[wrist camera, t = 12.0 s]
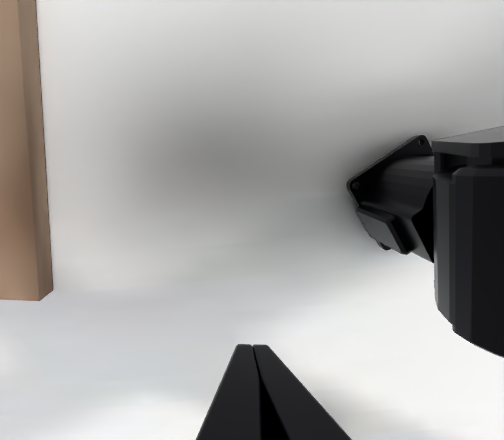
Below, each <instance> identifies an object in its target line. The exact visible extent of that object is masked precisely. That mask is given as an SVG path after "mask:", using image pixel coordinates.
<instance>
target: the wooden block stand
mask: <svg viewBox="0 0 504 440" xmlns="http://www.w3.org/2000/svg"><path fill="white" fill-rule="evenodd" d="M51 291H53V282H52V265H51V249H50V232H49V216H48V199H47V182H46V166H45V149H44V133H43V116H42V99H41V83H40V66H39V50H38V33H37V16H36V0H0V299H3V300H27V301H40V300H41V299H43V298H44V297H45V296H46V295H48V294H49V293H50V292H51Z"/></svg>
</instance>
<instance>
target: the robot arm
mask: <svg viewBox="0 0 504 440" xmlns="http://www.w3.org/2000/svg"><path fill="white" fill-rule="evenodd" d="M418 140H420V145H418ZM433 151H434V154H433ZM355 182H356V184H357V186H356V187H355V188H353V184H354V183H355ZM347 188H348V190H349V192H350V194H351V196H352V197H353V199H354V201H355V203H356V205H357V206H358V207H357V208H356V212H357V214H358V216H359V218H360V220H361V221H362V223H363V225H364V227H365V228H366V230H367V232H368V234H369V236H370V237H372V238H374V239H376V241H377V242H378V244H379V246H380V247H381V248H382V249H384V250H390V249H391V248H392V249H394V250H396V251H397V252H399V253H401V254H405V255H407V254H409V253H410V252H413V253H415V254H417V255H418V256H420V257H422V258H424V259H426V260H428V261H430V262H432V263H434V277H435V280H434V288H435V300H436V304H437V307H438V310H439V311H440V312H441V313H442V314H443V315H444V317H445V318H446V319H447V320H448V321H449V322H450V323H451V324H452V328H453V331H454V332H455V333H456V334H458V335H459V336H461V337H462V338H464V339H466V340H467V341H469V342H470V343H472V344H474V345H475V346H477V347H479V348H482V349H484V350H486V351H488V352H490V353H492V354H494V355H497V356H500V357H503V358H504V126H501V127H496V128H491V129H486V130H481V131H476V132H471V133H467V134H462V135H457V136H452V137H447V138H442V139H437V140H433V141H432V149H431V147H430V144H429V142H428V140H427V138H426V137H425V136H424V135H418V136H415V137H413V138H412V139H410V140H409V141H407V142H406V143H404V144H403V145H401V146H400V147H398V148H397V149H395V150H394V151H392V152H391V153H389V154H388V155H386V156H385V157H383V158H382V159H380V160H379V161H377V162H376V163H374V164H373V165H371V166H370V167H368V168H367V169H365V170H364V171H362V172H361V173H359V174H358V175H356V176H355V177H353V178H352V179H350V180H349V181H348V183H347ZM196 440H352V439H351V438H350V437H349V436H348V435H347V434H346V433H345V431H344V430H343V429H342V428H341V427H340V426H339V425H338V424H337V423H336V421H335V420H334V419H333V418H332V417H331V416H330V415H329V414H328V412H327V411H326V410H325V409H324V408H323V407H322V406H321V405H320V403H319V402H318V401H317V400H316V399H315V398H314V397H313V396H312V394H311V393H310V392H309V391H308V390H307V389H306V388H305V387H304V386H303V384H302V383H301V382H300V381H299V380H298V379H297V378H296V377H295V375H294V374H293V373H292V372H291V371H290V370H289V369H288V368H287V366H286V365H285V364H284V363H283V362H282V361H281V360H280V359H279V357H278V356H277V355H276V354H275V353H274V352H273V351H272V350H271V349H270V347H269V346H267V345H253V346H251V345H250V344H238V345H237V346H236V348H235V350H234V352H233V355H232V357H231V359H230V362H229V364H228V366H227V369H226V371H225V373H224V376H223V378H222V380H221V383H220V385H219V387H218V389H217V392H216V394H215V396H214V399H213V401H212V403H211V406H210V408H209V410H208V413H207V415H206V417H205V420H204V422H203V424H202V427H201V429H200V431H199V433H198V436H197V438H196Z"/></svg>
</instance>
